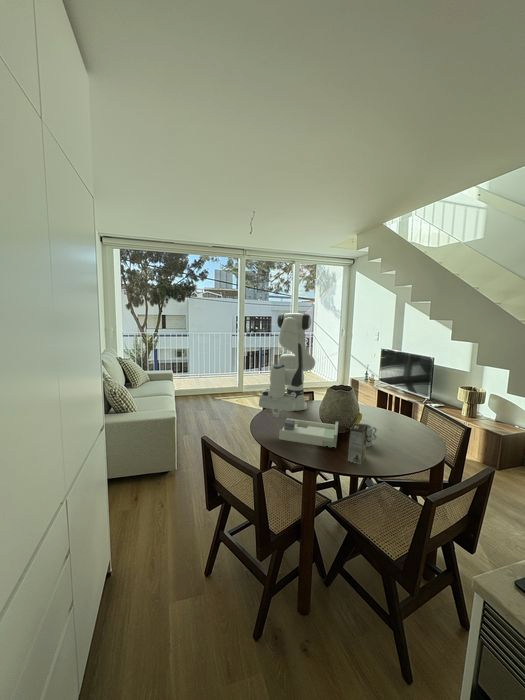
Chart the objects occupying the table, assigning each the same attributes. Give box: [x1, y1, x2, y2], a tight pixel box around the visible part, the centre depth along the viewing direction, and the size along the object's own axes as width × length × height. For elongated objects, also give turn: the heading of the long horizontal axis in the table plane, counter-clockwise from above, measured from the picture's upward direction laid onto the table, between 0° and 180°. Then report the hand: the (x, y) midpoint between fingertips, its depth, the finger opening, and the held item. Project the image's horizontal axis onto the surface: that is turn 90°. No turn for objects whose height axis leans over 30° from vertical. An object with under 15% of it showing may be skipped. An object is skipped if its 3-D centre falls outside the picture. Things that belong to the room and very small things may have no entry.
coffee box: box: [347, 424, 368, 465], centre depth 144 cm, size 9×6×16 cm
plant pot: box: [351, 411, 363, 428], centre depth 183 cm, size 10×10×10 cm
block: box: [283, 419, 295, 430], centre depth 173 cm, size 5×5×4 cm
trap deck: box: [278, 417, 339, 449], centre depth 170 cm, size 20×30×7 cm, turn 74°
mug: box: [359, 422, 378, 448], centre depth 162 cm, size 12×9×10 cm
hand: (275, 416), depth 174 cm, fingers closed
